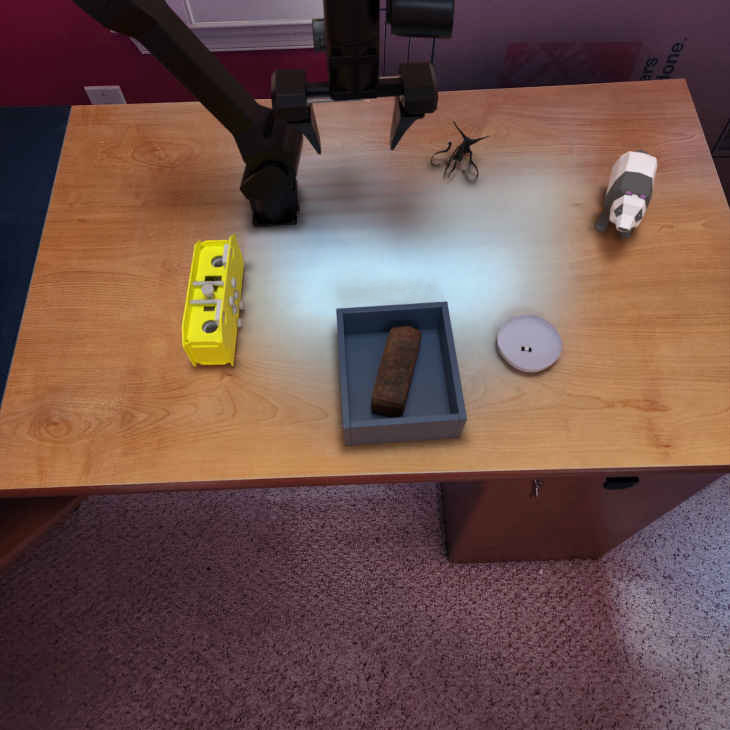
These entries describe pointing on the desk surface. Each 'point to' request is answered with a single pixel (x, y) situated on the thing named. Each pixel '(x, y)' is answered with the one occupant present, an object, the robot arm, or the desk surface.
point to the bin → (429, 381)
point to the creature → (460, 152)
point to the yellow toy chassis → (213, 302)
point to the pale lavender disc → (529, 343)
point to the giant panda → (628, 192)
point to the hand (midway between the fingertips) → (355, 149)
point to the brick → (396, 371)
